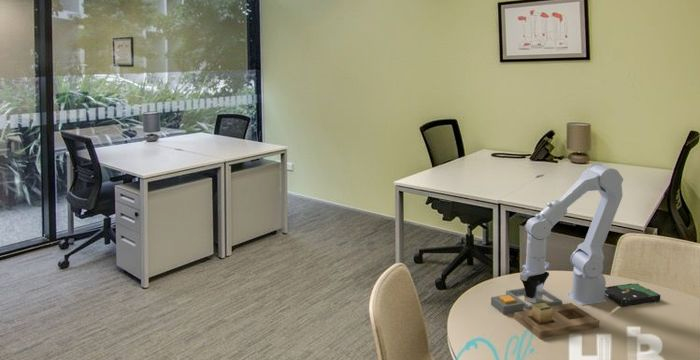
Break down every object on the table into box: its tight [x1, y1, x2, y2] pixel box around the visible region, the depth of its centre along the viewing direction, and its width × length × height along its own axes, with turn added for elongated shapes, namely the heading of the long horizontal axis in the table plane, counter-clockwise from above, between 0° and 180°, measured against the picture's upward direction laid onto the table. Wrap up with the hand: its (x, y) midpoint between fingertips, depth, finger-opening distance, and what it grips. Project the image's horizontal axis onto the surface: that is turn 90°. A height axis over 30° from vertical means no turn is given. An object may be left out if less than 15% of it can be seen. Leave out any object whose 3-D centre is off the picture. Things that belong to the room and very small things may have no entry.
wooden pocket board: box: [513, 302, 601, 340], centre depth 149 cm, size 20×12×2 cm, turn 106°
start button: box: [499, 294, 516, 304], centre depth 159 cm, size 4×4×3 cm
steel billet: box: [523, 281, 544, 304], centre depth 163 cm, size 4×4×6 cm
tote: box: [505, 287, 563, 311], centre depth 164 cm, size 12×12×2 cm
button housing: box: [490, 294, 524, 315], centre depth 159 cm, size 7×7×3 cm
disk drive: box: [604, 283, 661, 308], centre depth 165 cm, size 10×3×15 cm
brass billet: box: [531, 302, 553, 325], centre depth 147 cm, size 4×4×6 cm
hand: (533, 295), depth 163 cm, fingers closed on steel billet, 4 cm apart
